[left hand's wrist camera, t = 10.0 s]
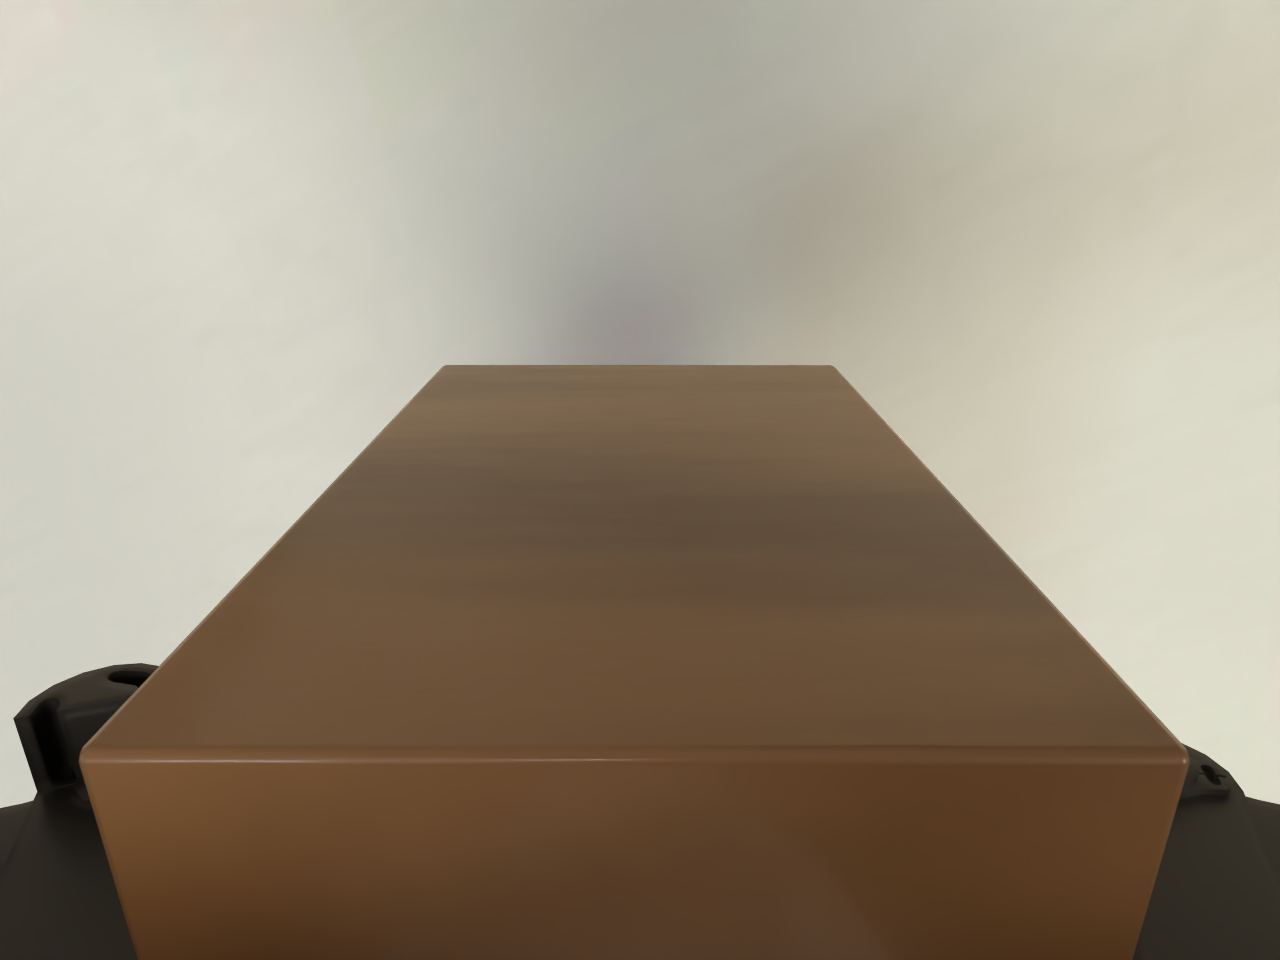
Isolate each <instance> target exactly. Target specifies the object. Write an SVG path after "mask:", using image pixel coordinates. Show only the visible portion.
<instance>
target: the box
mask: <svg viewBox="0 0 1280 960" xmlns="http://www.w3.org/2000/svg"><path fill="white" fill-rule="evenodd" d="M79 764H80V768H81V771H82V775H83V778H84V781H85V785H86V788H87V791H88V795H89V798H90V802H91V805H92V808H93V812H94V815H95V818H96V822H97V825H98V829H99V832H100V835H101V839H102V842H103V845H104V849H105V852H106V856H107V859H108V862H109V866H110V869H111V872H112V876H113V879H114V883H115V886H116V889H117V893H118V896H119V899H120V903H121V906H122V910H123V913H124V916H125V920H126V923H127V926H128V930H129V933H130V937H131V940H132V943H133V947H134V950H135V953H136V957H137V960H1133V956H1134V953H1135V949H1136V946H1137V942H1138V939H1139V936H1140V932H1141V929H1142V925H1143V922H1144V918H1145V915H1146V912H1147V908H1148V905H1149V901H1150V898H1151V894H1152V891H1153V888H1154V884H1155V881H1156V877H1157V874H1158V870H1159V867H1160V864H1161V860H1162V857H1163V853H1164V850H1165V846H1166V843H1167V839H1168V836H1169V833H1170V829H1171V826H1172V822H1173V819H1174V815H1175V812H1176V809H1177V805H1178V802H1179V798H1180V795H1181V791H1182V788H1183V785H1184V781H1185V778H1186V774H1187V771H1188V767H1189V764H1190V762H1189V755H1188V752H1187V750H1186V748H1185V747H1184V746H1183V745H1182V744H1181V742H1180V741H1179V740H1178V739H1177V738H1176V737H1175V736H1174V735H1173V734H1172V733H1171V732H1170V730H1169V729H1168V728H1167V727H1166V726H1165V725H1164V724H1163V723H1162V722H1161V721H1160V720H1159V719H1158V717H1157V716H1156V715H1155V714H1154V713H1153V712H1152V711H1151V710H1150V709H1149V708H1148V707H1147V706H1146V704H1145V703H1144V702H1143V701H1142V700H1141V699H1140V698H1139V697H1138V696H1137V695H1136V694H1135V693H1134V691H1133V690H1132V689H1131V688H1130V687H1129V686H1128V685H1127V684H1126V683H1125V682H1124V681H1123V680H1122V678H1121V677H1120V676H1119V675H1118V674H1117V673H1116V672H1115V671H1114V670H1113V669H1112V668H1111V666H1110V665H1109V664H1108V663H1107V662H1106V661H1105V660H1104V659H1103V658H1102V657H1101V656H1100V655H1099V653H1098V652H1097V651H1096V650H1095V649H1094V648H1093V647H1092V646H1091V645H1090V644H1089V643H1088V642H1087V640H1086V639H1085V638H1084V637H1083V636H1082V635H1081V634H1080V633H1079V632H1078V631H1077V630H1076V629H1075V627H1074V626H1073V625H1072V624H1071V623H1070V622H1069V621H1068V620H1067V619H1066V618H1065V617H1064V616H1063V614H1062V613H1061V612H1060V611H1059V610H1058V609H1057V608H1056V607H1055V606H1054V605H1053V604H1052V602H1051V601H1050V600H1049V599H1048V598H1047V597H1046V596H1045V595H1044V594H1043V593H1042V592H1041V591H1040V589H1039V588H1038V587H1037V586H1036V585H1035V584H1034V583H1033V582H1032V581H1031V580H1030V579H1029V578H1028V576H1027V575H1026V574H1025V573H1024V572H1023V571H1022V570H1021V569H1020V568H1019V567H1018V566H1017V565H1016V563H1015V562H1014V561H1013V560H1012V559H1011V558H1010V557H1009V556H1008V555H1007V554H1006V553H1005V552H1004V550H1003V549H1002V548H1001V547H1000V546H999V545H998V544H997V543H996V542H995V541H994V540H993V539H992V537H991V536H990V535H989V534H988V533H987V532H986V531H985V530H984V529H983V528H982V527H981V525H980V524H979V523H978V522H977V521H976V520H975V519H974V518H973V517H972V516H971V515H970V514H969V512H968V511H967V510H966V509H965V508H964V507H963V506H962V505H961V504H960V503H959V502H958V501H957V499H956V498H955V497H954V496H953V495H952V494H951V493H950V492H949V491H948V490H947V489H946V488H945V486H944V485H943V484H942V483H941V482H940V481H939V480H938V479H937V478H936V477H935V476H934V475H933V473H932V472H931V471H930V470H929V469H928V468H927V467H926V466H925V465H924V464H923V463H922V461H921V460H920V459H919V458H918V457H917V456H916V455H915V454H914V453H913V452H912V451H911V450H910V448H909V447H908V446H907V445H906V444H905V443H904V442H903V441H902V440H901V439H900V438H899V437H898V435H897V434H896V433H895V432H894V431H893V430H892V429H891V428H890V427H889V426H888V425H887V424H886V422H885V421H884V420H883V419H882V418H881V417H880V416H879V415H878V414H877V413H876V412H875V411H874V409H873V408H872V407H871V406H870V405H869V404H868V403H867V402H866V401H865V400H864V399H863V397H862V396H861V395H860V394H859V393H858V392H857V391H856V390H855V389H854V388H853V387H852V386H851V384H850V383H849V382H848V381H847V380H846V379H845V378H844V377H843V376H842V375H841V374H840V373H839V371H838V370H837V369H836V368H835V367H833V366H802V365H446V366H443V367H442V368H441V369H440V370H439V371H438V372H437V373H436V374H435V375H434V376H433V377H432V379H431V380H430V381H429V382H428V383H427V384H426V385H425V386H424V387H423V388H422V389H421V390H420V391H419V392H418V393H417V394H416V395H415V397H414V398H413V399H412V400H411V401H410V402H409V403H408V404H407V405H406V406H405V407H404V408H403V409H402V410H401V411H400V412H399V413H398V414H397V416H396V417H395V418H394V419H393V420H392V421H391V422H390V423H389V424H388V425H387V426H386V427H385V428H384V429H383V430H382V431H381V432H380V433H379V435H378V436H377V437H376V438H375V439H374V440H373V441H372V442H371V443H370V444H369V445H368V446H367V447H366V448H365V449H364V450H363V451H362V453H361V454H360V455H359V456H358V457H357V458H356V459H355V460H354V461H353V462H352V463H351V464H350V465H349V466H348V467H347V468H346V469H345V470H344V472H343V473H342V474H341V475H340V476H339V477H338V478H337V479H336V480H335V481H334V482H333V483H332V484H331V485H330V486H329V487H328V488H327V490H326V491H325V492H324V493H323V494H322V495H321V496H320V497H319V498H318V499H317V500H316V501H315V502H314V503H313V504H312V505H311V506H310V507H309V509H308V510H307V511H306V512H305V513H304V514H303V515H302V516H301V517H300V518H299V519H298V520H297V521H296V522H295V523H294V524H293V525H292V527H291V528H290V529H289V530H288V531H287V532H286V533H285V534H284V535H283V536H282V537H281V538H280V539H279V540H278V541H277V542H276V543H275V544H274V546H273V547H272V548H271V549H270V550H269V551H268V552H267V553H266V554H265V555H264V556H263V557H262V558H261V559H260V560H259V561H258V562H257V563H256V565H255V566H254V567H253V568H252V569H251V570H250V571H249V572H248V573H247V574H246V575H245V576H244V577H243V578H242V579H241V580H240V581H239V583H238V584H237V585H236V586H235V587H234V588H233V589H232V590H231V591H230V592H229V593H228V594H227V595H226V596H225V597H224V598H223V599H222V600H221V602H220V603H219V604H218V605H217V606H216V607H215V608H214V609H213V610H212V611H211V612H210V613H209V614H208V615H207V616H206V617H205V618H204V620H203V621H202V622H201V623H200V624H199V625H198V626H197V627H196V628H195V629H194V630H193V631H192V632H191V633H190V634H189V635H188V636H187V637H186V639H185V640H184V641H183V642H182V643H181V644H180V645H179V646H178V647H177V648H176V649H175V650H174V651H173V652H172V653H171V654H170V655H169V657H168V658H167V659H166V660H165V661H164V662H163V663H162V664H161V665H160V666H159V667H158V668H157V669H156V670H155V671H154V672H153V673H152V674H151V676H150V677H149V678H148V679H147V680H146V681H145V682H144V683H143V684H142V685H141V686H140V687H139V688H138V689H137V690H136V691H135V692H134V693H133V695H132V696H131V697H130V698H129V699H128V700H127V701H126V702H125V703H124V704H123V705H122V706H121V707H120V708H119V709H118V710H117V711H116V713H115V714H114V715H113V716H112V717H111V718H110V719H109V720H108V721H107V722H106V723H105V724H104V725H103V726H102V727H101V728H100V729H99V730H98V732H97V733H96V734H95V735H94V736H93V737H92V738H91V739H90V740H89V741H88V742H87V743H86V744H85V745H84V746H83V748H82V750H81V753H80V757H79Z"/></svg>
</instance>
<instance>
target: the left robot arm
mask: <svg viewBox="0 0 1280 960" xmlns="http://www.w3.org/2000/svg"><path fill="white" fill-rule="evenodd" d="M158 667H159V666H155V665H149V664H143V663H138V664H124V665H113V666H109V667H105V668H101V669H97V670H93V671H88V672H84V673H82V674H79V675H77V676H74V677H72V678H70V679H67V680H65V681H62V682H60V683H58V684H55V685H53V686H52V687H50V688H48V689H47V690H45V691H44V692H42V693H41V694H39V695H38V696H36V697H35V698H33V699H31V700H30V701H29V702H28V703H27V704H26V705H25V706H24V707H23V708H22V709H21V711H20V712H19V713H18V714H17V715H16V716H15V717H14V718H13V719H14V722H15V725H16V728H17V731H18V734H19V737H20V740H21V743H22V746H23V749H24V752H25V755H26V758H27V761H28V764H29V767H30V770H31V774H32V777H33V780H34V783H35V786H36V789H37V794H36V796H35V798H34V801H30V802H27V803H23V804H18V805H14V806H9V807H4V808H0V960H137V957H136V953H135V950H134V947H133V943H132V940H131V937H130V933H129V930H128V926H127V923H126V920H125V916H124V913H123V910H122V906H121V903H120V899H119V896H118V893H117V889H116V886H115V883H114V879H113V876H112V872H111V869H110V866H109V862H108V859H107V856H106V852H105V849H104V845H103V842H102V839H101V835H100V832H99V829H98V825H97V822H96V818H95V815H94V812H93V808H92V805H91V802H90V798H89V795H88V791H87V788H86V785H85V781H84V778H83V775H82V771H81V768H80V764H79V757H80V753H81V750H82V748H83V746H84V745H85V744H86V743H87V742H88V741H89V740H90V739H91V738H92V737H93V736H94V735H95V734H96V733H97V732H98V730H99V729H100V728H101V727H102V726H103V725H104V724H105V723H106V722H107V721H108V720H109V719H110V718H111V717H112V716H113V715H114V714H115V713H116V711H117V710H118V709H119V708H120V707H121V706H122V705H123V704H124V703H125V702H126V701H127V700H128V699H129V698H130V697H131V696H132V695H133V693H134V692H135V691H136V690H137V689H138V688H139V687H140V686H141V685H142V684H143V683H144V682H145V681H146V680H147V679H148V678H149V677H150V676H151V674H152V673H153V672H154V671H155V670H156V669H157V668H158ZM1181 744H1182V743H1181ZM1182 745H1183V746H1184V747H1185V748H1186V750H1187V752H1188V755H1189V762H1190V764H1189V767H1188V771H1187V774H1186V778H1185V781H1184V785H1183V788H1182V791H1181V795H1180V798H1179V802H1178V805H1177V809H1176V812H1175V815H1174V819H1173V822H1172V826H1171V829H1170V833H1169V836H1168V839H1167V843H1166V846H1165V850H1164V853H1163V857H1162V860H1161V864H1160V867H1159V870H1158V874H1157V877H1156V881H1155V884H1154V888H1153V891H1152V894H1151V898H1150V901H1149V905H1148V908H1147V912H1146V915H1145V918H1144V922H1143V925H1142V929H1141V932H1140V936H1139V939H1138V942H1137V946H1136V949H1135V953H1134V956H1133V960H1280V804H1275V803H1270V802H1265V801H1260V800H1257V799H1253V798H1249V797H1246V796H1245V795H1244V792H1243V790H1242V789H1241V788H1240V786H1239V785H1238V784H1237V782H1236V781H1235V780H1234V778H1233V777H1232V776H1231V774H1230V773H1229V772H1228V771H1227V770H1225V769H1224V768H1223V767H1221V766H1220V765H1219V764H1217V763H1216V762H1215V761H1213V760H1212V759H1211V758H1209V757H1208V756H1207V755H1205V754H1203V753H1201V752H1199V751H1197V750H1195V749H1193V748H1191V747H1188V746H1186V745H1184V744H1182Z"/></svg>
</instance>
